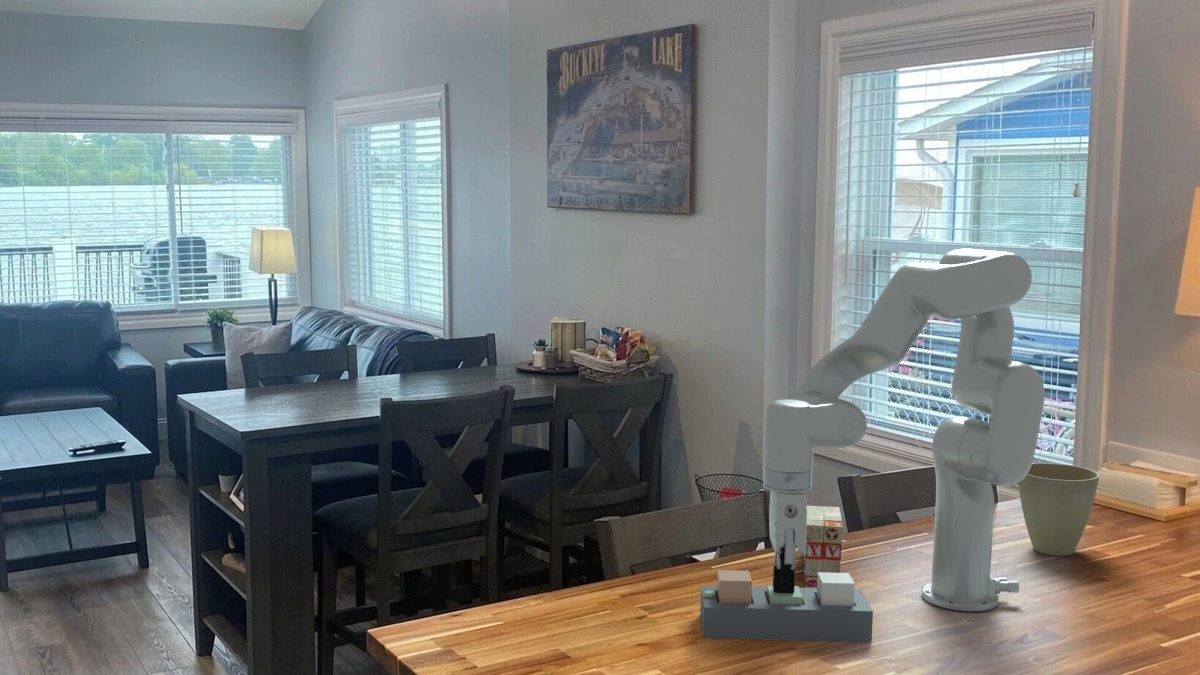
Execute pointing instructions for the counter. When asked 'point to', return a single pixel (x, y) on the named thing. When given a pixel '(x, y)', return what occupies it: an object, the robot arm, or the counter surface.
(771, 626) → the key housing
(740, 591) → the beige cube
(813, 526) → the stack of blocks
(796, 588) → the key sage
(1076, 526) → the plant pot
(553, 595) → the counter surface
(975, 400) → the robot arm
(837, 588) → the key cream
